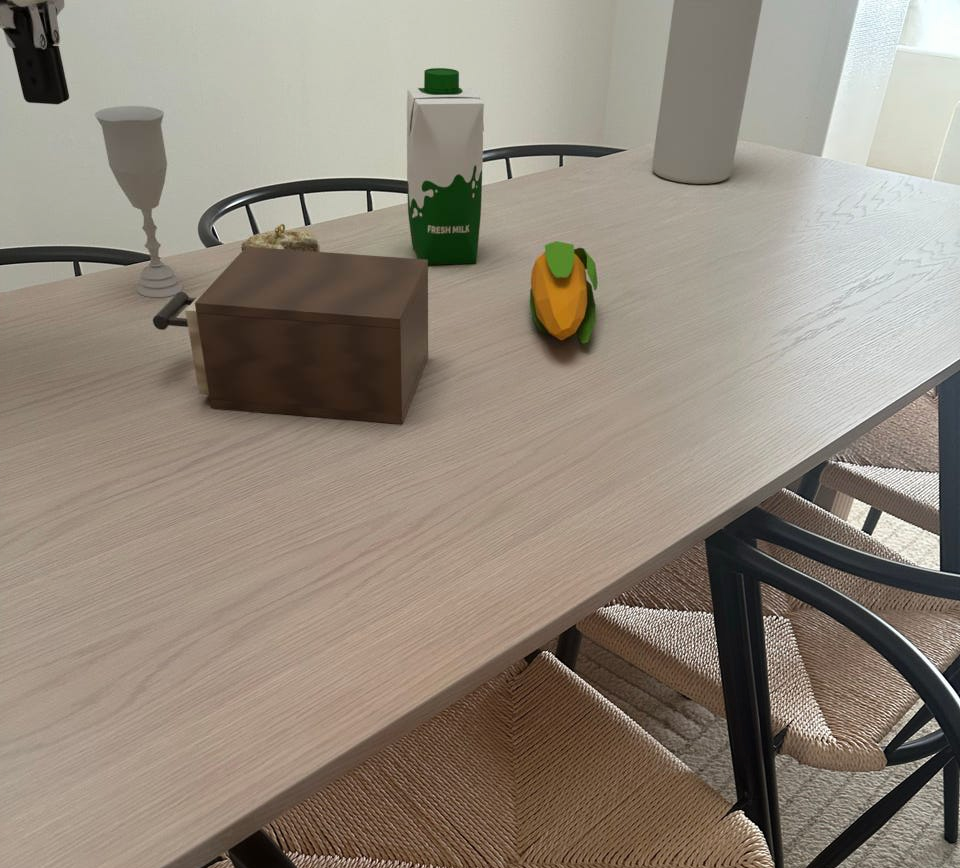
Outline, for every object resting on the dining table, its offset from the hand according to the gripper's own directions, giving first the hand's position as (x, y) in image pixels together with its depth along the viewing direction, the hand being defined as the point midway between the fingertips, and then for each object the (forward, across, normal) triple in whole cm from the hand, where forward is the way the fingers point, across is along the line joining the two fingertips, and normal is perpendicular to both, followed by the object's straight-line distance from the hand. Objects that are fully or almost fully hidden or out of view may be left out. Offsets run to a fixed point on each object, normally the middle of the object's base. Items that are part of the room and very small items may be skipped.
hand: (47, 100), depth 82 cm
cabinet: (+23, 0, +22) cm, 32 cm away
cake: (+23, -29, +10) cm, 39 cm away
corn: (+23, -18, +44) cm, 53 cm away
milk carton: (+23, -38, +28) cm, 53 cm away
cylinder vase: (+23, -84, +61) cm, 106 cm away
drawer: (+22, 0, +18) cm, 28 cm away
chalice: (+23, -20, -2) cm, 31 cm away
